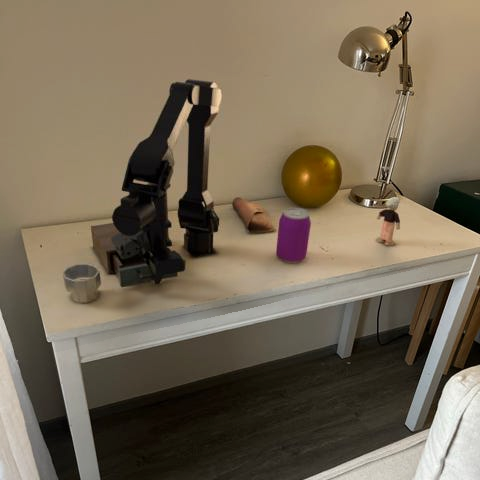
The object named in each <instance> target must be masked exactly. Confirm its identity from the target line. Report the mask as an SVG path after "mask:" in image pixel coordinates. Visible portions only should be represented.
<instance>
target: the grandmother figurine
mask: <svg viewBox="0 0 480 480" xmlns="http://www.w3.org/2000/svg"><path fill="white" fill-rule="evenodd" d="M400 202H401V201H400V198H399V197H397V196H393V197H390V198H389V199H388V200H386V202H385V205H386V206H387V208H386V209H383V210H381V211H379V212H378V214H377V216H376V219H377V220H378V221H379V220H381V218H383V221H382V225H381V228H380V235H379V239H377V242H378V243H384V245H385V246H394V245H395V242H394V240H393V238H394V237H393V236H394V231H395V229H396V230H400V229H401V220H400V216H399V213H398V212H396V211H397V210H398V208H399V205H400Z"/></svg>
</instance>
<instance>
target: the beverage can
mask: <svg viewBox="0 0 480 480" xmlns="http://www.w3.org/2000/svg"><path fill="white" fill-rule="evenodd" d="M311 224H312V222H311V218H310V212H309V211H307V209H304V208H301V207H288V208H285V209H284V210H283V211H282V213H281V216H280V217H279V219H278V230H277V240H276V247H275V248H276V251H275V252H276V256H277V258H279V259H280V261H282V262H284V263H290V264H296V263H300V262H303V260H305V259H306V257H307V254H308V248H309V247H308V246H309V239H310V233H311Z"/></svg>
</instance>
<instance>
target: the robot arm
mask: <svg viewBox="0 0 480 480" xmlns="http://www.w3.org/2000/svg"><path fill="white" fill-rule="evenodd" d="M222 97H223V96H222V90H221V89H220V88H219V87H218V84H217V83H216V82H215V81H209V80H208V81H207V80H199V79H192V78H188V79H186V80H185V82H182V81H175V82H171V84H170V87H169V94H168V97H167V99H166V101H165V103H164V105H163V108H162V110H161V111H160V114H159V116H158V118H157V121H156V123H155V125H154V127H153V129H152V131H151V133H150V134H149V136H148V137H147V138H144V139H143V140H141V141H140V142H138V144H137V145H136V147H135V148H134V150H133V151H132V153H131V155H130V156H129V158H128V162H127V164H126V170H125V173H124V178H123V182H122V187H121V191H122V192H126V193H128V194H127V195H125V196H122V197H121V198H120V204H119V205H118V206H116V207H115V209H114V210H113V212H112V215H111V220H112V223H114V226H115V227H116V229H117V230H118V231H119V232H121V233H119V234H117V235H115V236H113V237H112V238H111V241H112V243H113V245H114V247H115V249H116V250H117V252H118V254H119V255H120V257H121V258H122V259H127V258H129V257H132V256H134V255H136V254H138V253H139V255H140V256H141V257H142V258H144V259H143V260H144V261H145V263H146V264H147V265H148V266H149V269H150V272H151V275H152V278H153V281H152V282H153V283H154V285H160V284H161V282H162V281H163V279H162V278H163V276H164V275H167V274H172V273H177V272H178V273H181V272H185V271H186V260H185V259H184V258H183V256H182V255H181V254H180V253H178V251H176V250H171V248H170V247H173V240H171V239H170V236H169V235H170V234H169V229H171V228H172V222H171V221H170V219H169V210H168V209H169V208H168V189H170V188H171V179H172V177H173V174H174V166H175V162H176V161H175V157H174V154H173V153H174V149H175V147H176V144H177V142H178V141H179V138H180V136H181V133H182V132H183V129H184V126H185V124H186V122H187V124H188V131H187V133H188V134H187V135H188V137H187V169H186V170H187V171H186V173H187V174H186V176H187V177H186V191H185V192H184V194H183V195H182V197H180V198H179V200H178V209H177V219H178V223H179V228H180V229H185V232H184V234H183V248H184V250H185V251H186V252H187V253H188V254H189V256H191V257H192V258H198V257H204V256H208V255H213V254H217V251H216V249H214V233H218V232H219V226H220V217H219V215H217V212H216V211H215V203H214V202H215V201H214V199H213V197H212V195H211V194H210V192H209V190H208V186H209V185H208V184H209V162H210V140H211V124H212V123H213V122H214V120H215V118H216V117H217V115H218V114H219V110H220V105H221V103H222ZM134 181H137V182H134ZM141 182H143V183H141ZM145 183H146V184H145Z"/></svg>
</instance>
